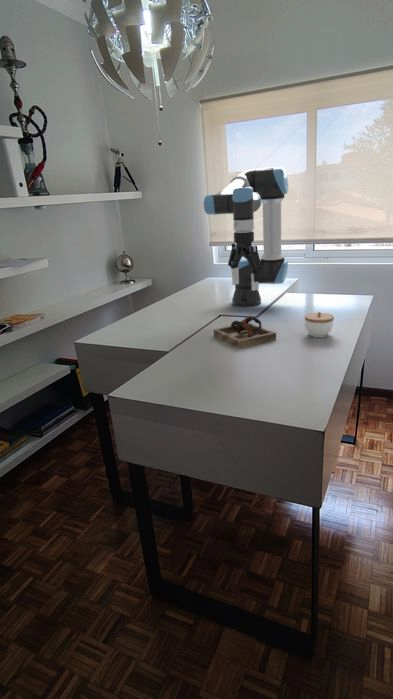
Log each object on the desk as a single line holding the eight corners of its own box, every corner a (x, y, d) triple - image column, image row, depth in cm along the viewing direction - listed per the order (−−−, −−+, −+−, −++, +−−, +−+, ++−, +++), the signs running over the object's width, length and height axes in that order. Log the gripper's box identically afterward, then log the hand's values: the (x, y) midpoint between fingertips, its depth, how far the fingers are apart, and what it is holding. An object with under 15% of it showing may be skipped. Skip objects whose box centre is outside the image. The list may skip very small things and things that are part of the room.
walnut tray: (213, 336, 171) (213, 329, 170) (248, 328, 178) (248, 322, 177) (239, 348, 155) (239, 341, 154) (276, 339, 162) (276, 332, 161)
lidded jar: (334, 339, 159) (335, 315, 156) (304, 339, 161) (305, 315, 158) (331, 331, 169) (332, 308, 165) (303, 331, 171) (304, 308, 168)
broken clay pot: (256, 330, 173) (262, 316, 168) (257, 347, 167) (264, 332, 161) (228, 325, 172) (233, 311, 166) (228, 342, 165) (234, 327, 160)
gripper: (218, 230, 166) (220, 283, 174) (254, 234, 145) (255, 294, 153) (234, 228, 169) (235, 280, 177) (272, 232, 148) (272, 290, 156)
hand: (245, 287), depth 165 cm, fingers open, 13 cm apart
